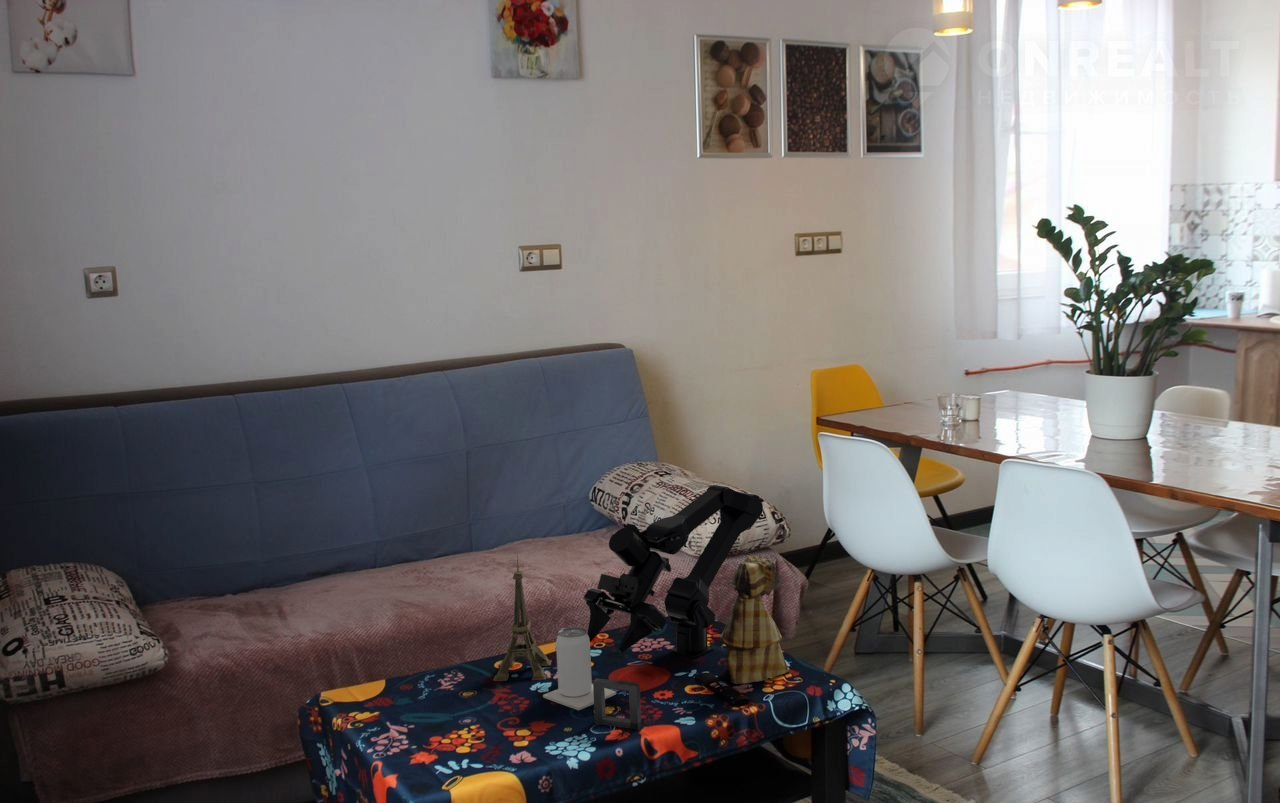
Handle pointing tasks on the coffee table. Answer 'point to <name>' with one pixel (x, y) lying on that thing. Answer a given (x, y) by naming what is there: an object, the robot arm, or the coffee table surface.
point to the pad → (576, 698)
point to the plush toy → (753, 625)
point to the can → (573, 662)
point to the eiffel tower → (528, 646)
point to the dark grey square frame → (633, 701)
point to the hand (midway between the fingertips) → (603, 646)
